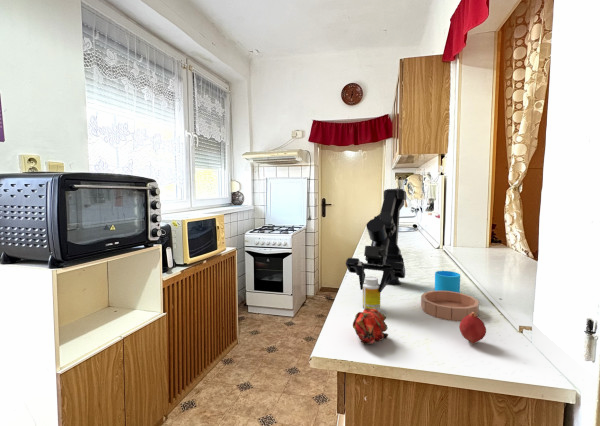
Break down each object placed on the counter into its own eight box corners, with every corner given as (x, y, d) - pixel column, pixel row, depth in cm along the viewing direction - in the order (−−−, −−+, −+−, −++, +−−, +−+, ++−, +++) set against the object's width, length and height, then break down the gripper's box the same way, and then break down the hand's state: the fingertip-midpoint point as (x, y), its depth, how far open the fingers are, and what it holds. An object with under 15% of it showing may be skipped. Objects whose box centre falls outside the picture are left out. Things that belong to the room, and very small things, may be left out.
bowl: (415, 301, 109) (416, 290, 109) (464, 302, 107) (465, 290, 107) (430, 320, 93) (430, 307, 93) (488, 322, 92) (488, 308, 91)
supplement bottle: (383, 311, 101) (384, 279, 100) (368, 313, 99) (368, 281, 98) (374, 305, 106) (374, 275, 105) (359, 307, 104) (359, 276, 103)
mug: (460, 301, 109) (461, 277, 108) (434, 298, 112) (434, 275, 111) (458, 290, 120) (458, 269, 119) (434, 288, 123) (435, 267, 122)
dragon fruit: (374, 334, 88) (371, 363, 77) (349, 315, 89) (342, 341, 78) (393, 314, 85) (393, 340, 74) (367, 294, 86) (362, 318, 75)
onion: (454, 338, 82) (455, 308, 82) (475, 337, 83) (476, 307, 82) (468, 349, 76) (468, 317, 76) (490, 348, 77) (491, 316, 76)
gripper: (347, 234, 108) (336, 274, 99) (404, 237, 100) (397, 281, 91) (354, 252, 116) (344, 291, 107) (407, 257, 108) (402, 299, 99)
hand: (370, 290), depth 101 cm, fingers closed on supplement bottle, 6 cm apart
